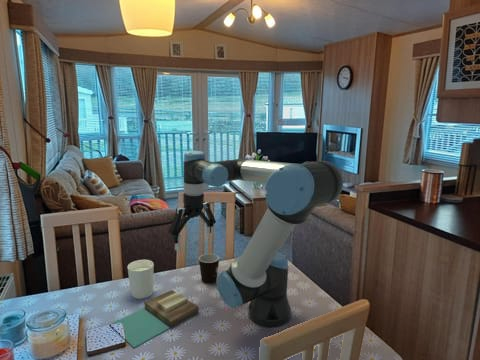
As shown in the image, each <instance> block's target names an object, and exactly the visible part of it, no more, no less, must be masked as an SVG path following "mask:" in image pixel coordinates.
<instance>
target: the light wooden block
mask: <svg viewBox="0 0 480 360" xmlns="http://www.w3.org/2000/svg"><path fill="white" fill-rule="evenodd" d="M187 300H188V298H187V297H186V296H185V295H183V294H181V293H180V292H177V291H176V293H174V294H172V295H170V296H168V297H166V298H164V299H162V300H160V301H158V302H157V306H158V307H160V308H161V309H163V310H164V311H165V312H169V311H171V310H173V309H175V308H177V307H179V306H181V305H182V304H184V303H186V302H187Z"/></svg>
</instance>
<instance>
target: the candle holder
mask: <svg viewBox="0 0 480 360" xmlns="http://www.w3.org/2000/svg"><path fill="white" fill-rule="evenodd" d="M127 273H128V281H129V287H130V288H129V289H130V295H131V296H132V298H134V299H138V300H141V299H142V300H143V299H146V298H148V297H150V296H151V295H153V293H154V262H153V261H152V260H150V259H138V260H134V261H132V262H130V263H128V265H127Z"/></svg>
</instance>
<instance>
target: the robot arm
mask: <svg viewBox="0 0 480 360" xmlns="http://www.w3.org/2000/svg"><path fill="white" fill-rule="evenodd" d="M232 181H233V182H234V181H243V182H244V181H245V182H250V183H251V182H252V183H259V184H264V185H265V186H264V187H265V188H264V191H265V192H266V193H264V194H265V196H264V197H265V199H266V201H265V203H266V206H267V207H266V208H267V209H266V211H265V213H264V215H263V216H262V218H261V220H260V222H259V224H258V226H257V227H256V229H255V231H254V233H253V234H252V237H251V238H250V240H249V242H248V244H247V246H246V247H245V249H244V251H243V253H242V254H241V255H239V256H236V257H235V258H234V259H233V260H232V263H231V264H230V266H229V268H228V269H226V270H222V271H221V272H218V273H217V279H216V282H215V283H216V287H217V291H218V294H219V296H220V298H221V300H222V301H223V302H224V304H225V305H226V306H227V307H230V308H231V309H237V308H239V307H243V305H246V304H247V303H249V305H248V311H247V312H248V316H249V317H248V318H249V319H250V320H251V321H252V322H254V323H255V324H257V325H259V326H263V327H268V328H276V327H281V326H282V327H283V326H285V325H286V324H287V323H288V322H290V320H291V317H292V309H291V305H290V302H289V299H288V295H287V294H288V280H289V279H288V278H289V277H288V276H289V259H288V257H287V255H285V254H284V253H281V252H280V250H281V248H282V247H283V245H284V243H285V242H286V241H287V239H288V238H289V236H290V235H291V233H292V231H293V230H294V228H295V226H299V225H302V224H304V223H305V222H306V221H307V219H308V217H309V216H310V215H311V213H312V211H314V209H315V208H317V207H320V206H323V205H326V204H329V203H332V202H333V201H335V200H336V199H337V198H338V197H339V196H341V195H340V194H341V193H342V191H343V188H344V176H343V174H342V172H341V170H340V169H339V167H337V166H336V165H335V164H334V163H332V162H330V161H327V160H316V161H308V160H307V161H305V162H303V163H289V162H280V161H267V160H256V159H252V158H249V157H242V158H241V157H240V158H235V159H226V160H219V161H210V160H207V159H206V155H205V152H204V151H202V150H201V151H200V150H188V151H187V150H186V151H185V152H184V155H183V194H182V195H183V197H182V200H183V202H182V203H183V207H182V208H181V207H176V209H175V214H174V217H173V219H172V222H171V223H170V226H169V228H168V231H167V233H168V234H169V235H171V236H172V238H173V239H172V242H173V244H174V250H175V251H176V252H178V253H180V252H181V250H182V249H181V247H182V246H181V239H182V238H181V232H182V230H183V229H184V227H185V226H186V224H187V223H188V221H189V220H191V219H193V218H198V217H200V218H201V219H202V221H203V222H204V223H205V224H204V232H203V241H204V242H206V243H210V242H211V233H212V228H213V227H214V224H216V223H217V222H216V219H215V216H214V214H213V211H212V209H211V203H210V202H208V201H205V199H204V198H205V194H204V192H205V185H208V186H211V187H215V188H219V187H222V186H224V185H225V184H226V183H227V182H232ZM203 209H204V211H205V213H206V215H205V213H204V212H203Z"/></svg>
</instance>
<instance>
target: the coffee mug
mask: <svg viewBox="0 0 480 360" xmlns="http://www.w3.org/2000/svg"><path fill="white" fill-rule="evenodd" d="M198 263H199V270H200V279H201V281H202V283H203V284H206V285H208V284H214V283H216V279H217V276H218V274H219V272H218V271H219V263H220V256H219V255H217V254H214V253H205V254H202V255H200V256H199V257H198Z"/></svg>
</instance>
